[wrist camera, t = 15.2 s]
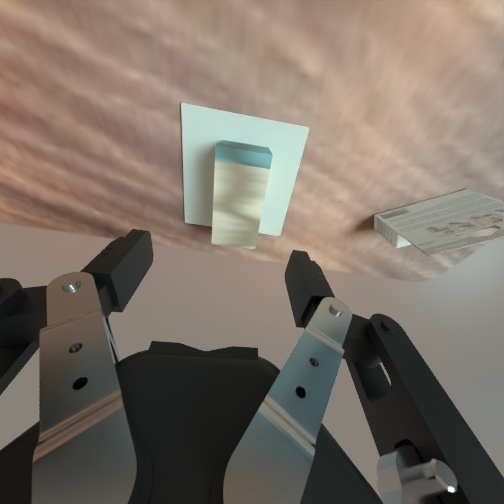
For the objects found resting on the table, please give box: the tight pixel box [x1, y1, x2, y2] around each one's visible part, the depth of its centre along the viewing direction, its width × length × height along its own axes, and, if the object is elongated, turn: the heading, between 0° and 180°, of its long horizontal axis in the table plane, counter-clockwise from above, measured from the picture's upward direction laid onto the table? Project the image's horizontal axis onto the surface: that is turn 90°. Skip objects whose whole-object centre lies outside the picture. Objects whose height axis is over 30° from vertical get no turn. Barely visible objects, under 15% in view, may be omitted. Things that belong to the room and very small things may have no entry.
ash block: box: [212, 140, 273, 249], centre depth 22 cm, size 5×5×10 cm
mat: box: [181, 103, 309, 236], centre depth 24 cm, size 13×13×1 cm
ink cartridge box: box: [374, 189, 504, 256], centre depth 22 cm, size 2×11×10 cm, turn 109°
